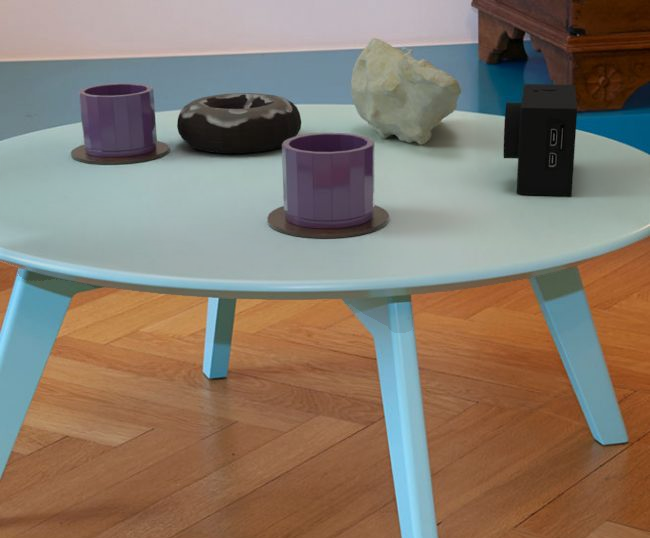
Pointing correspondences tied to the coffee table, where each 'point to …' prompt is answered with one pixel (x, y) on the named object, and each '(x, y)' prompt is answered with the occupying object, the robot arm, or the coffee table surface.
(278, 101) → the donut
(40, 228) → the coffee table surface
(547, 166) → the digital camera
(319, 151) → the ramekin
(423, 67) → the pale rock
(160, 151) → the coaster
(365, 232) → the coaster
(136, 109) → the ramekin
